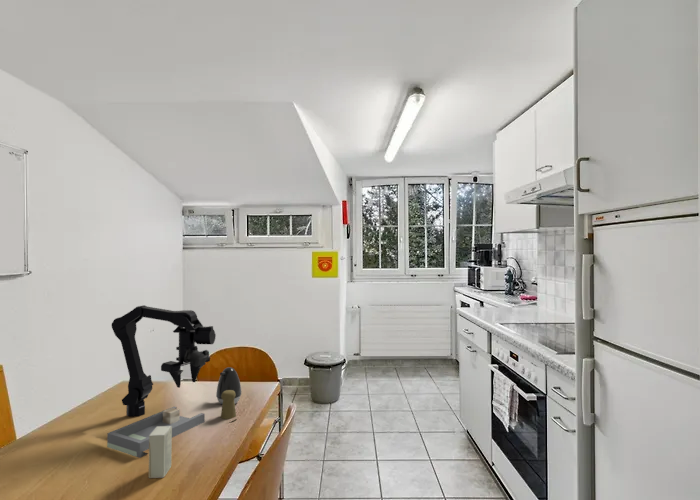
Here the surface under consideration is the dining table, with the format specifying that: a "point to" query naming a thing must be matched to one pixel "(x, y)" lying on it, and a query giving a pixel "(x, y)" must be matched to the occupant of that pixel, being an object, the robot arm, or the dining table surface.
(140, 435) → the box
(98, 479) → the dining table surface
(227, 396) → the cork
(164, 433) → the skincare box
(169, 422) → the birch block
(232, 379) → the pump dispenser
